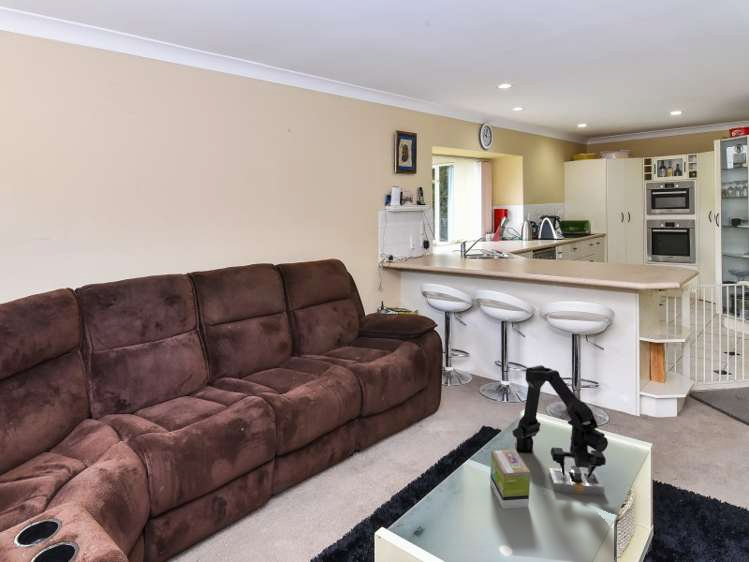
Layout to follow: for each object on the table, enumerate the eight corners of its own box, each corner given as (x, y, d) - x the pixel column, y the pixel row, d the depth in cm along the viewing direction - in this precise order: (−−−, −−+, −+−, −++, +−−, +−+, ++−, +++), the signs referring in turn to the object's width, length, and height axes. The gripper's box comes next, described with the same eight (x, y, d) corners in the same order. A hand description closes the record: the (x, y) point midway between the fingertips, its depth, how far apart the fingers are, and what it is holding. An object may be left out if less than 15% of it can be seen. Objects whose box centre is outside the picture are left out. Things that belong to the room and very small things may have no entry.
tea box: (488, 484, 194) (490, 449, 191) (514, 482, 195) (516, 448, 192) (501, 509, 179) (504, 472, 176) (529, 508, 180) (531, 471, 177)
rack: (553, 491, 189) (554, 483, 188) (548, 475, 199) (548, 467, 198) (603, 496, 186) (604, 487, 186) (596, 479, 196) (596, 471, 196)
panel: (573, 487, 190) (574, 473, 189) (570, 479, 195) (571, 465, 194) (580, 487, 190) (581, 473, 189) (577, 480, 195) (578, 466, 194)
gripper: (557, 448, 182) (554, 486, 186) (612, 452, 180) (608, 491, 183) (551, 432, 193) (548, 469, 196) (603, 436, 190) (599, 473, 194)
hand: (575, 476), depth 192 cm, fingers open, 9 cm apart
